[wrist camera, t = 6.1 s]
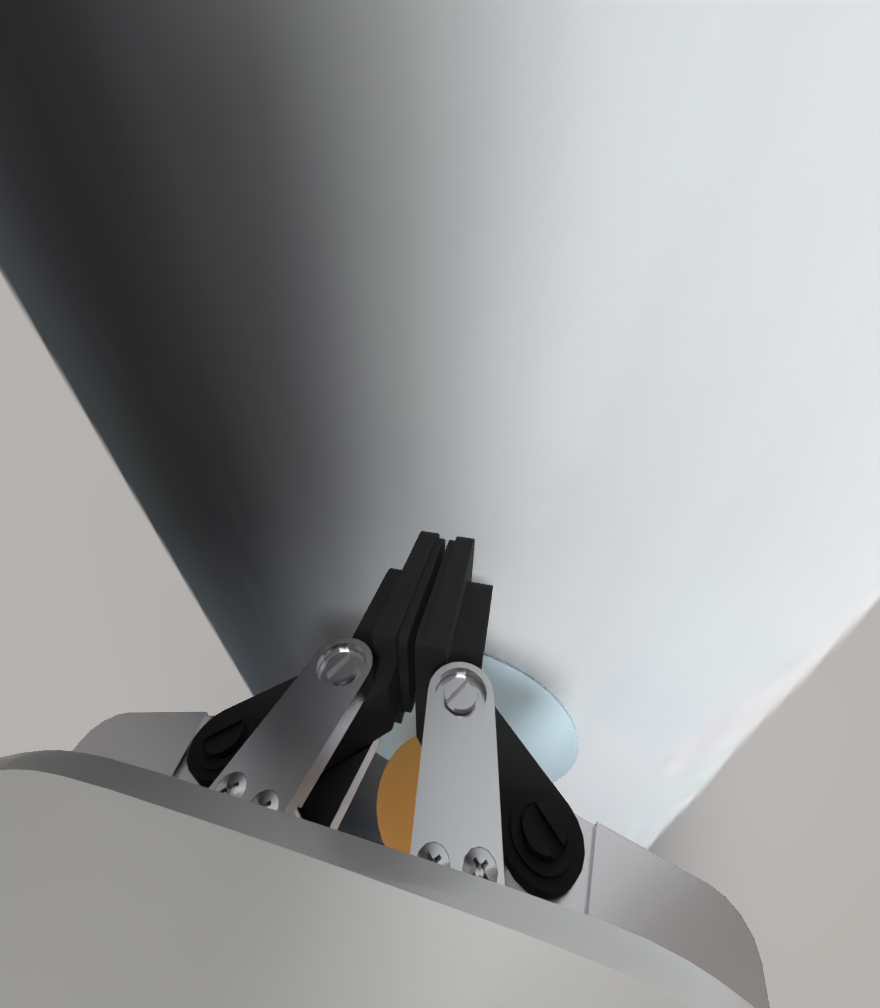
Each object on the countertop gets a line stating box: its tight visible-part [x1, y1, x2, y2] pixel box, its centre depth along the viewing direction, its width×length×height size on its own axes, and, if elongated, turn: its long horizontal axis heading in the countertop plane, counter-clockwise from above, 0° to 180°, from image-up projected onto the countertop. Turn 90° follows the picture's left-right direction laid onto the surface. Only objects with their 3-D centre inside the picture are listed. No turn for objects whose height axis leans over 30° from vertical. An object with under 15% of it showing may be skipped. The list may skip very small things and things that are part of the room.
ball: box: [377, 736, 422, 854], centre depth 17 cm, size 6×6×6 cm
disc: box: [376, 655, 578, 782], centre depth 18 cm, size 13×13×1 cm
